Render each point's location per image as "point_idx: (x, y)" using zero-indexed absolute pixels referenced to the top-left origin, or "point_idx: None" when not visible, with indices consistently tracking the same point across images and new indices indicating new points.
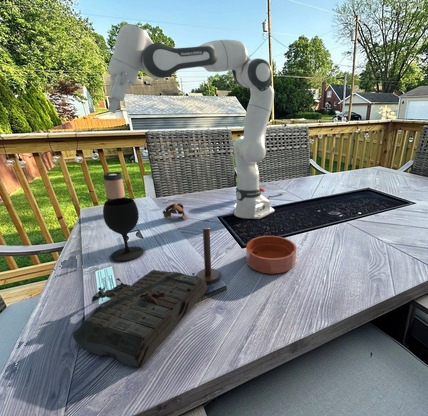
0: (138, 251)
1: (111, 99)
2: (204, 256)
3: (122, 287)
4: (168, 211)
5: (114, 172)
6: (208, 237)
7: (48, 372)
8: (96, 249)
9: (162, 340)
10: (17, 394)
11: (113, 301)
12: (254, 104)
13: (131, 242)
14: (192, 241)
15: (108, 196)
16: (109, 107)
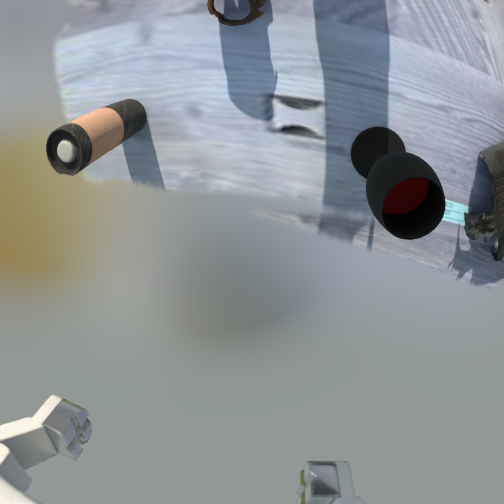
0: (389, 138)
1: (23, 488)
2: None
3: (493, 217)
4: (253, 14)
5: (47, 146)
6: None
7: (495, 269)
8: (318, 189)
9: None
10: (493, 282)
11: (502, 232)
12: None
13: (330, 129)
14: (409, 34)
15: (113, 148)
16: (81, 449)
